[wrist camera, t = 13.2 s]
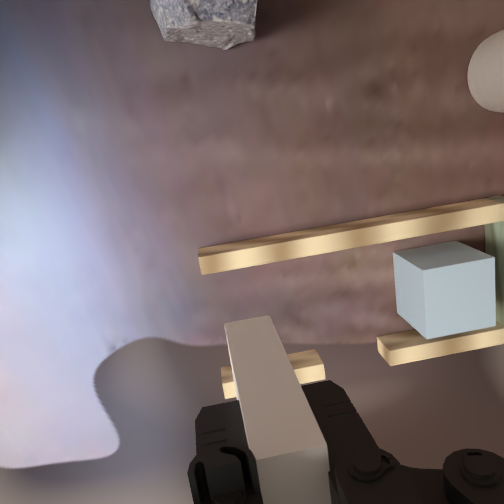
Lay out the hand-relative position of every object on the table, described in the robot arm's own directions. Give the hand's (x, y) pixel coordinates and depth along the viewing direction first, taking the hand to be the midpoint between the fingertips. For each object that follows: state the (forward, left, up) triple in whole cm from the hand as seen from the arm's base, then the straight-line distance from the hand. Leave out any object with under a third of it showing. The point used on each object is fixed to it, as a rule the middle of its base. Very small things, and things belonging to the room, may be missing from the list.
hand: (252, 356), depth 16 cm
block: (+18, -9, -26) cm, 33 cm away
